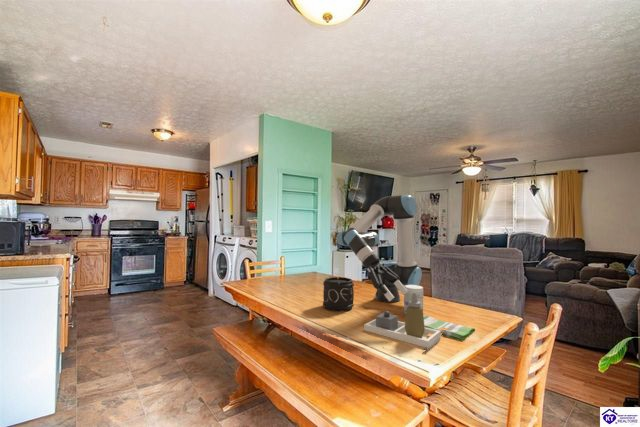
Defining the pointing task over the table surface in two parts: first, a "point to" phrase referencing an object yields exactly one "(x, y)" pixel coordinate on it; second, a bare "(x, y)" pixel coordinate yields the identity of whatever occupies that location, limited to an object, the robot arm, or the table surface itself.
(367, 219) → the robot arm
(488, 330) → the table surface
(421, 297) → the supplement tub
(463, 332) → the dish towel
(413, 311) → the squeeze bottle
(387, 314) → the block
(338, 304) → the black marked cylinder
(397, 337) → the tray
